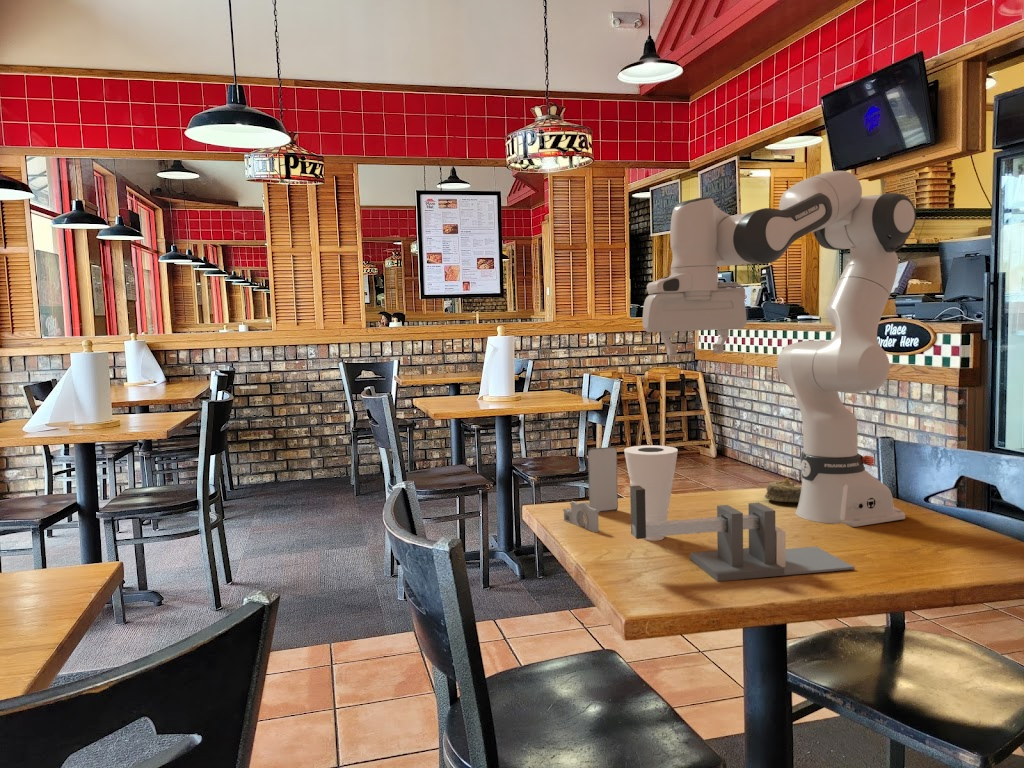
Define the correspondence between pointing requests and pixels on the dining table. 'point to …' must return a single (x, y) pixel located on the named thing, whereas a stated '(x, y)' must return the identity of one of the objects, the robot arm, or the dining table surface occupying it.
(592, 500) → the smartphone
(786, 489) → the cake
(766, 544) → the bearing stand
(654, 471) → the cup
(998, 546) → the dining table surface
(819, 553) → the mat
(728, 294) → the robot arm
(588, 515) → the grey toothed piece
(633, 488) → the shaft
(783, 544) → the block
